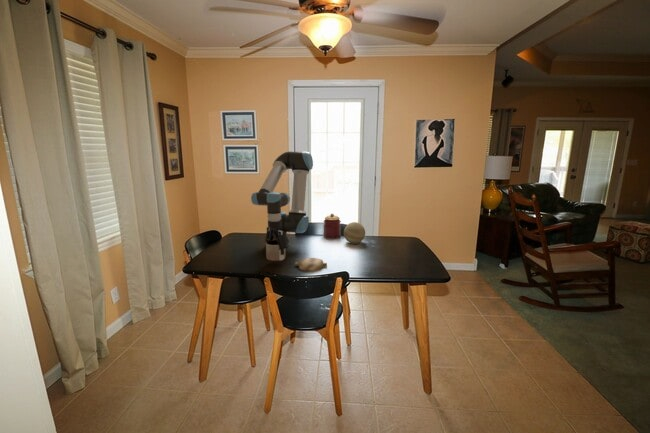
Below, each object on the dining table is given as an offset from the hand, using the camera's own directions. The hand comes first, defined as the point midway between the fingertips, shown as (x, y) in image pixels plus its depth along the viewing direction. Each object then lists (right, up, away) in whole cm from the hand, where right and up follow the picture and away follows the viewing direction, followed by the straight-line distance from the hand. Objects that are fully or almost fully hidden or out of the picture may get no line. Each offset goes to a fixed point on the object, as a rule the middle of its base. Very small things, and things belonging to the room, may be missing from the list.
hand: (276, 257), depth 177 cm
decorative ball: (+49, +4, +40) cm, 63 cm away
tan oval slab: (+20, -5, -2) cm, 21 cm away
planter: (0, -1, 0) cm, 1 cm away
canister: (+34, +8, +56) cm, 66 cm away
